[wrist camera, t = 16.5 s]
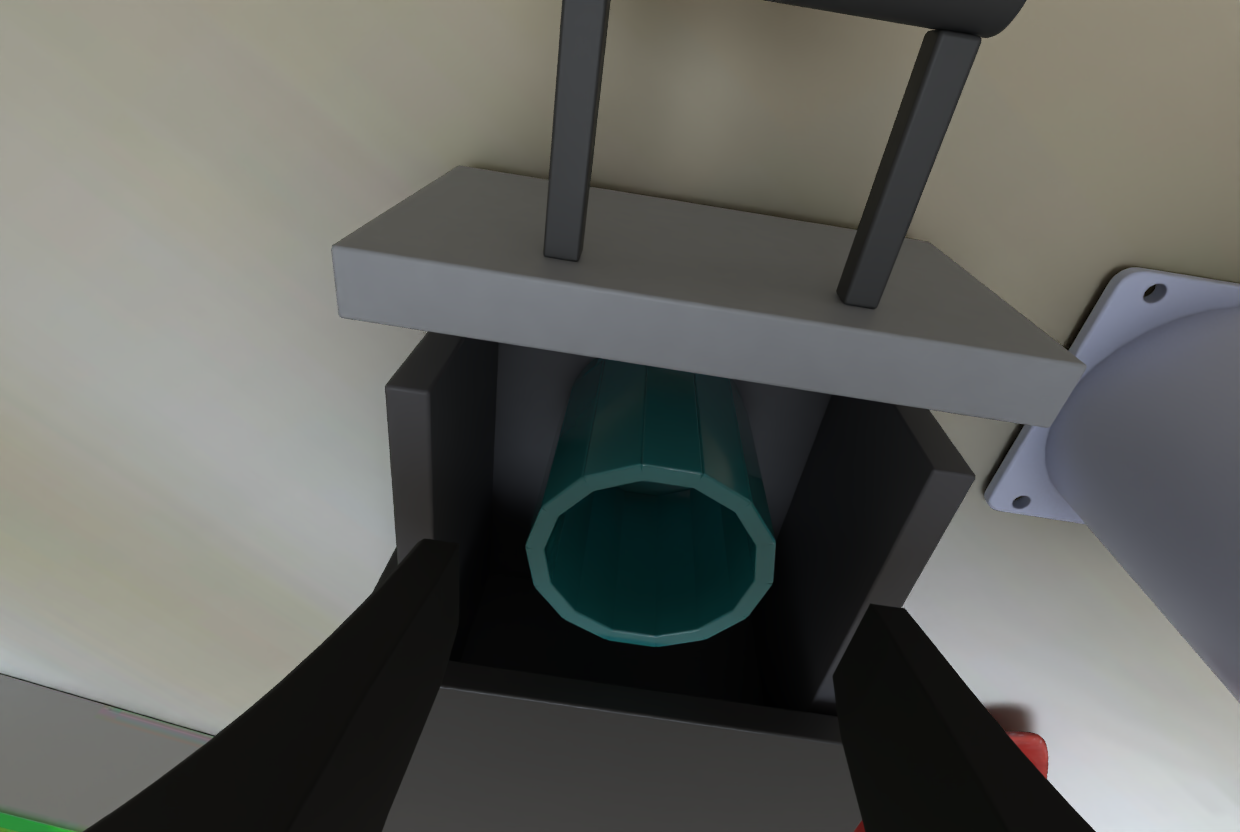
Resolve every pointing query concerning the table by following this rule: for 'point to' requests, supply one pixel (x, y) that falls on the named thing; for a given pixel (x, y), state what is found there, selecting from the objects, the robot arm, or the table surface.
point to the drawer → (697, 370)
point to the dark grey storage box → (616, 760)
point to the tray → (77, 757)
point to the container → (652, 508)
